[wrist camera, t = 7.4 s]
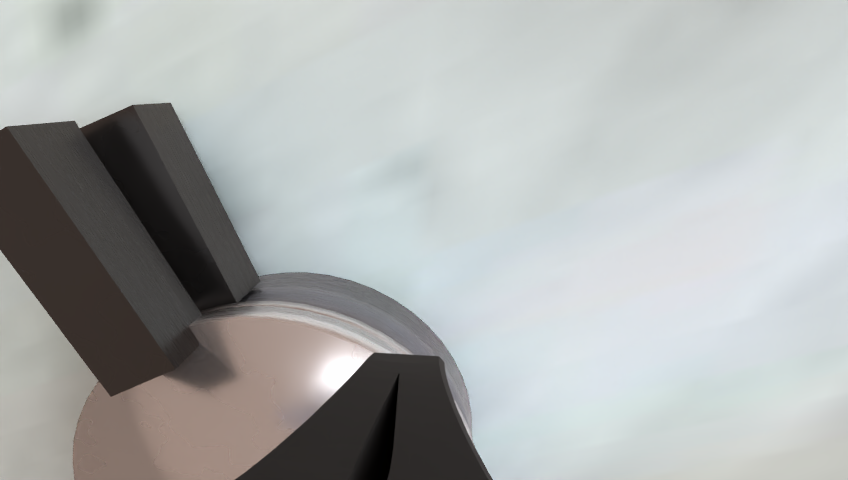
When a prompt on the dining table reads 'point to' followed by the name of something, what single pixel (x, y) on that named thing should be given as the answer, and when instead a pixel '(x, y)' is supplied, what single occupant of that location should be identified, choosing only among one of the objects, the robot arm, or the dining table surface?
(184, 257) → the pot
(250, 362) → the pressure cooker lid
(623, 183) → the dining table surface
